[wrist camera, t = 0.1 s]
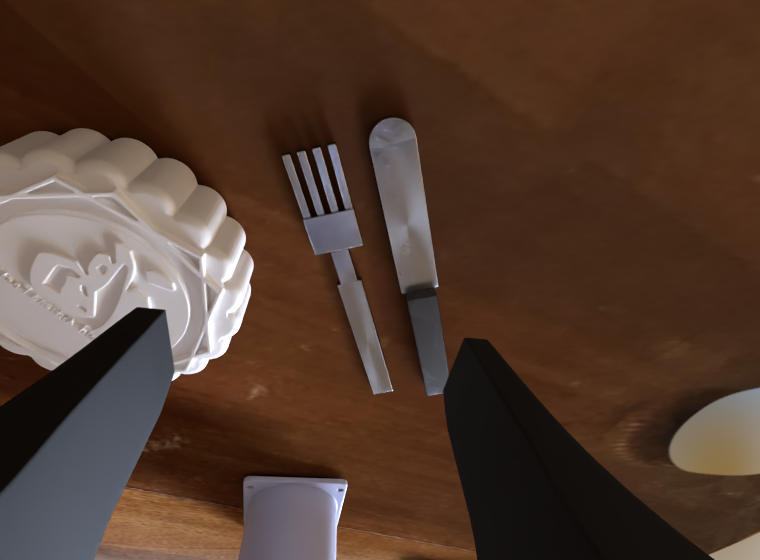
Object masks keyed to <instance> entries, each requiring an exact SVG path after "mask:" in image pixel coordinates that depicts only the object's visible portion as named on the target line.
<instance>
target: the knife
mask: <svg viewBox="0 0 760 560" xmlns="http://www.w3.org/2000/svg"><path fill="white" fill-rule="evenodd" d="M369 148H370V152H371V157H372V161H373V166H374V170H375V175H376V180H377V184H378V189H379V193H380V198H381V202H382V207H383V212H384V216H385V221H386V225H387V230H388V234H389V239H390V244H391V248H392V253H393V257H394V262H395V266H396V271H397V276H398V280H399V285H400V289H401V293H402V294H403V293H405V295H406V300H407V305H408V310H409V314H410V319H411V324H412V328H413V333H414V338H415V343H416V347H417V352H418V357H419V361H420V366H421V371H422V376H423V380H424V385H425V390H426V394H427V396H429V395H434V394H440V393H443V389H444V386H445V384H446V382H447V379H448V377H449V371H448V365H447V358H446V352H445V345H444V339H443V332H442V326H441V319H440V313H439V306H438V300H437V294H436V291H435V287H438V281H437V274H436V267H435V261H434V254H433V247H432V240H431V234H430V227H429V220H428V213H427V207H426V200H425V193H424V186H423V180H422V173H421V166H420V159H419V153H418V146H417V139H416V134H415V131H414V129H413V127H412V126H411V124H410V123H409V122H408V121H406V120H405V119H403V118H400V117H396V116H391V117H386V118H383V119H381V120H380V121H378V122H377V123H376V124H375V125H374V127H373V128H372V130H371V132H370V135H369Z"/></svg>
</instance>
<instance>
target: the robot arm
mask: <svg viewBox="0 0 760 560" xmlns="http://www.w3.org/2000/svg"><path fill="white" fill-rule="evenodd" d="M174 372H175V369H174V362H173V356H172V349H171V343H170V336H169V330H168V323H167V316H166V310H164V309H153V308H143V307H136V308H135V309H134V310H132V311H131V312H129V313H128V314H127V315H125V316H124V317H123V318H121V319H120V320H119V321H117V322H116V323H115V324H114V325H112V326H111V327H110V328H108V329H107V330H106V331H104V332H103V333H102V334H101V335H99V336H98V337H97V338H95V339H94V340H93V341H91V342H90V343H89V344H87V345H86V346H85V347H84V348H82V349H81V350H80V351H78V352H77V353H75V354H74V355H73V356H71V357H70V358H69V359H67V360H66V361H65V362H63V363H62V364H61V365H59V366H58V367H56V368H55V369H54V370H52V371H51V372H50V373H48V374H47V375H46V376H44V377H43V378H41V379H40V380H39V381H37V382H36V383H34V384H33V385H31V386H30V387H28V388H27V389H25V390H24V391H23V392H21V393H20V394H18V395H17V396H15V397H14V398H12V399H11V400H9V401H8V402H6V403H5V404H3V405H2V406H1V407H0V560H94V558H95V555H96V552H97V550H98V547H99V544H100V542H101V539H102V536H103V534H104V531H105V529H106V527H107V524H108V522H109V520H110V518H111V515H112V513H113V511H114V508H115V506H116V504H117V502H118V500H119V498H120V496H121V494H122V492H123V490H124V488H125V486H126V484H127V482H128V480H129V478H130V475H131V473H132V471H133V469H134V467H135V465H136V463H137V461H138V459H139V457H140V455H141V453H142V451H143V449H144V447H145V445H146V442H147V440H148V438H149V436H150V434H151V432H152V430H153V428H154V426H155V424H156V422H157V419H158V417H159V415H160V413H161V410H162V408H163V405H164V402H165V399H166V396H167V393H168V390H169V387H170V384H171V381H172V378H173V375H174ZM443 395H444V404H445V413H446V420H447V428H448V432H449V436H450V440H451V444H452V448H453V452H454V457H455V461H456V464H457V468H458V472H459V476H460V480H461V484H462V488H463V492H464V496H465V500H466V504H467V508H468V512H469V516H470V521H471V525H472V530H473V535H474V540H475V547H476V553H477V560H714V559H713V558H712V557H710V556H709V555H707V554H706V553H705V552H703V551H702V550H701V549H700V548H698V547H697V546H696V545H694V544H693V543H692V542H691V541H689V540H688V539H687V538H685V537H684V536H683V535H682V534H680V533H679V532H678V531H677V530H675V529H674V528H673V527H672V526H670V525H669V524H668V523H667V522H666V521H664V520H663V519H662V518H661V517H660V516H658V515H657V514H656V513H655V512H653V511H652V510H651V509H650V508H649V507H647V506H646V505H645V504H644V503H643V502H641V501H640V500H639V499H638V498H637V497H636V496H635V495H633V494H632V493H631V492H630V491H629V490H628V489H626V488H625V487H624V486H623V485H622V484H621V483H620V482H619V481H618V480H617V479H616V478H615V477H613V476H612V475H611V474H610V473H609V472H608V471H607V470H606V469H605V468H604V467H603V466H601V465H600V464H599V463H598V462H597V461H596V460H595V459H594V458H593V457H592V456H591V455H590V454H589V453H588V452H587V451H586V450H585V449H584V448H583V447H582V446H581V445H580V444H579V443H578V442H577V441H576V440H575V439H574V438H573V437H572V436H571V435H570V434H569V433H568V432H567V431H566V429H565V428H564V427H563V426H562V425H561V424H560V423H559V422H558V421H557V420H556V419H555V418H554V417H553V416H552V414H551V413H550V412H549V411H548V410H547V409H546V408H545V407H544V406H543V404H542V403H541V402H540V401H539V400H538V399H537V398H536V396H535V395H534V394H533V393H532V392H531V391H530V390H529V388H528V387H527V386H526V385H525V384H524V383H523V381H522V380H521V379H520V378H519V377H518V375H517V374H516V373H515V372H514V371H513V370H512V368H511V367H510V366H509V365H508V364H507V362H506V361H505V360H504V359H503V358H502V356H501V355H500V354H499V353H498V352H497V350H496V349H495V348H494V347H493V346H492V345H491V344H490V342H489V341H488V340H485V339H474V338H464V340H463V343H462V345H461V348H460V350H459V352H458V355H457V357H456V360H455V362H454V365H453V367H452V369H451V372H450V374H449V377H448V379H447V382H446V384H445V386H444V389H443ZM346 489H347V481H346V480H344V479H328V478H298V477H268V476H247V477H245V478H244V482H243V499H244V532H243V538H242V543H241V548H240V553H239V558H238V560H336V530H337V524H338V520H339V516H340V512H341V508H342V505H343V501H344V497H345V493H346Z"/></svg>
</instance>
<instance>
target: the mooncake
mask: <svg viewBox="0 0 760 560" xmlns="http://www.w3.org/2000/svg"><path fill="white" fill-rule="evenodd" d="M226 215H227V207H226V204H225V201H224V200H223V198H222V197H221V195H220V194H219V193H218V192H216V191H215V190H213V189H212V188H210V187H207V186H203V185H198V184H197V180H196V177H195V175H194V174H193V172H192V171H191V170H190V169H189V168H188V167H187V166H186V165H185V164H183V163H182V162H180V161H178V160H175V159H171V158H160V159H158V158H157V156H156V154H155V153H154V152H153V151H152V149H151V148H149V147H148V146H147V145H146V144H144V143H142V142H140V141H138V140H136V139H132V138H119V139H115V140H113V141H110V140H109V139H108V138H107V137H105V136H104V135H102V134H101V133H99V132H97V131H94V130H91V129H86V128H77V129H73V130H70V131H68V132H66V133H64V134H62V135H60V136H59V135H57V134H55V133H52V132H47V131H37V132H32V133H30V134H28V135H25V136H23V137H21V138H19V139H16V140H14V141H12V142H10V143H8V144H5V145H3V146H1V147H0V345H1V346H2V347H3V348H5V349H7V350H9V351H11V352H13V353H16V354H21V355H28V356H30V357H32V358H33V360H34V361H35V362H36V363H37V364H39V365H40V366H42V367H44V368H46V369H48V370H54V369H55V368H56V367H58V366H59V365H61V364H62V363H63V362H65V361H66V360H67V359H69V358H70V357H71V356H73V355H74V354H75V353H77V352H78V351H80V350H81V349H82V348H84V347H85V346H86V345H87V344H89V343H90V342H91V341H93V340H94V339H95V338H97V337H98V336H99V335H101V334H102V333H103V332H104V331H106V330H107V329H108V328H110V327H111V326H112V325H114V324H115V323H116V322H117V321H119V320H120V319H121V318H123V317H124V316H125V315H127V314H128V313H129V312H131V311H132V310H134V309H135V308H136V307H143V308H153V309H164V310H166V316H167V323H168V330H169V336H170V343H171V349H172V356H173V362H174V369H175V372H174V375H173V378H172V381H173V380H174V379H176V378H177V377H178V376H179V375H180V373H182V374H193V373H197V372H199V371H201V370H202V369H203V368H204V367H205V366H206V365H207V363H208V360H209V359H213V358H217V357H219V356H221V355H222V354H223V353H225V351H226V350H227V348H228V345H229V342H230V339H231V336H232V335H234V334H235V333H236V332H237V331H238V330H239V328H240V325H241V322H242V319H243V316H244V313H245V310H246V306H247V303H248V300H249V297H250V293H251V287H250V284H249V280H250V277H251V274H252V271H253V260H252V258H251V256H250V254H249V253H248V252H247V251H246V250H245V249H243V247H244V245H245V241H246V236H245V232H244V230H243V228H242V226H241V225H240V224H239V223H238V222H237V221H236V220H234V219H233V218H231V217H228V216H226Z"/></svg>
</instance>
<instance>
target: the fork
mask: <svg viewBox="0 0 760 560" xmlns="http://www.w3.org/2000/svg"><path fill="white" fill-rule="evenodd" d="M328 150H329V153H330V157H331V161H332V164H333V168H334V171H335V175H336V178H337V182H338V186H339V189H340V193H341V196H342V200H343V203H344V207H345V208H340V209H339V207H338V204H337V200H336V197H335V193H334V190H333V187H332V183H331V180H330V176H329V173H328V169H327V166H326V162H325V159H324V155H323V152H322V149H321V146H320V145H319V146H314V147H312V151H313V154H314V157H315V161H316V164H317V167H318V171H319V174H320V177H321V180H322V184H323V187H324V190H325V194H326V197H327V200H328V203H329V207H330V210H331V211H326V212H325V210H324V206H323V203H322V200H321V197H320V194H319V190H318V187H317V184H316V181H315V178H314V175H313V171H312V168H311V165H310V162H309V159H308V155H307V152H306V149H301V150H298V151H297V155H298V158H299V161H300V164H301V167H302V170H303V173H304V176H305V179H306V182H307V185H308V189H309V192H310V195H311V198H312V201H313V204H314V207H315V210H316V213H317V214H312V215H311V212H310V209H309V206H308V203H307V200H306V197H305V194H304V191H303V188H302V185H301V182H300V179H299V176H298V173H297V170H296V167H295V164H294V162H293V159H292V156H291V153H290V152H288V153H284V154H282V159H283V162H284V164H285V167H286V170H287V173H288V176H289V179H290V181H291V184H292V187H293V190H294V193H295V196H296V199H297V201H298V204H299V207H300V210H301V213H302V216H303V222H304V225H305V227H306V230H307V233H308V236H309V239H310V241H311V244H312V247H313V250H314V253H315V255H320V254H324V253H329V252H331V256H332V259H333V262H334V265H335V268H336V271H337V274H338V277H339V280H340V281H338V282H337V287H338V290H339V293H340V296H341V299H342V302H343V305H344V308H345V311H346V314H347V317H348V320H349V323H350V326H351V329H352V332H353V335H354V338H355V341H356V344H357V347H358V350H359V353H360V355H361V358H362V361H363V364H364V367H365V370H366V373H367V376H368V379H369V382H370V385H371V388H372V391H373V394H378V393H383V392H388V391H393V386H392V383H391V379H390V376H389V372H388V369H387V365H386V362H385V358H384V354H383V351H382V347H381V344H380V340H379V337H378V333H377V330H376V326H375V323H374V319H373V316H372V312H371V309H370V305H369V302H368V298H367V295H366V291H365V288H364V284H363V281H362V277H357V274H356V270H355V267H354V263H353V260H352V257H351V253H350V250H349V248H353V247H358V246H362V245H363V240H362V236H361V232H360V229H359V225H358V221H357V217H356V214H355V210H354V206H353V205H352V201H351V197H350V193H349V190H348V186H347V182H346V178H345V175H344V171H343V167H342V163H341V160H340V156H339V152H338V148H337V145H336V142H332V143H328Z"/></svg>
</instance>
